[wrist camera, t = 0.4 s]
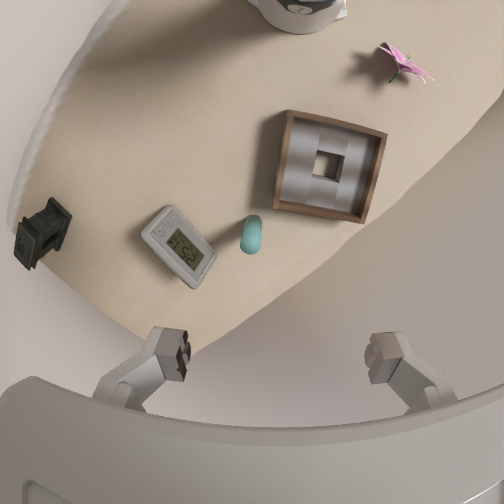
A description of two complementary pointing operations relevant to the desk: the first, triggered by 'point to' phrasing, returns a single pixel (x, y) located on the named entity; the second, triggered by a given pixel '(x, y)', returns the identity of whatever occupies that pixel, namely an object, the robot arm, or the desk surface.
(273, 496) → the robot arm
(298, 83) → the desk surface
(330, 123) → the bore box
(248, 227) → the peg
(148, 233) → the digital clock
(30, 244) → the model
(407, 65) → the lily
